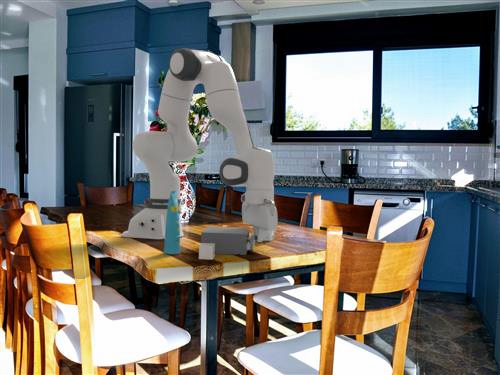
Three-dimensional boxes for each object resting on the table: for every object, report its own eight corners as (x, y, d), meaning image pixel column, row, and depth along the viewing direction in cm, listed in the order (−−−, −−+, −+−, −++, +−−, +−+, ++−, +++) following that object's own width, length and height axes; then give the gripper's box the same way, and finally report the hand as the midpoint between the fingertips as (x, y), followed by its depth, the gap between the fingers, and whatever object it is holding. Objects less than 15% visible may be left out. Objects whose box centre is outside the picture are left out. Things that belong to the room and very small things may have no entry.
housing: (200, 253, 140) (201, 232, 140) (207, 245, 154) (208, 226, 154) (246, 254, 139) (246, 234, 139) (248, 246, 153) (249, 228, 153)
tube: (178, 255, 135) (180, 191, 134) (162, 255, 135) (163, 190, 134) (181, 251, 143) (182, 189, 142) (165, 250, 142) (166, 189, 141)
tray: (211, 248, 141) (211, 236, 141) (215, 242, 152) (216, 231, 152) (252, 250, 140) (253, 238, 140) (254, 244, 152) (255, 232, 152)
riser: (198, 259, 131) (199, 245, 131) (201, 256, 135) (201, 242, 135) (212, 259, 131) (213, 245, 131) (214, 256, 135) (214, 243, 135)
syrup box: (271, 241, 167) (272, 201, 166) (255, 240, 168) (257, 201, 167) (274, 238, 172) (275, 200, 171) (258, 238, 173) (259, 199, 173)
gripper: (283, 200, 137) (282, 246, 138) (256, 195, 156) (255, 236, 157) (264, 200, 135) (263, 247, 135) (239, 195, 154) (238, 236, 154)
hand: (258, 241), depth 146 cm, fingers closed
